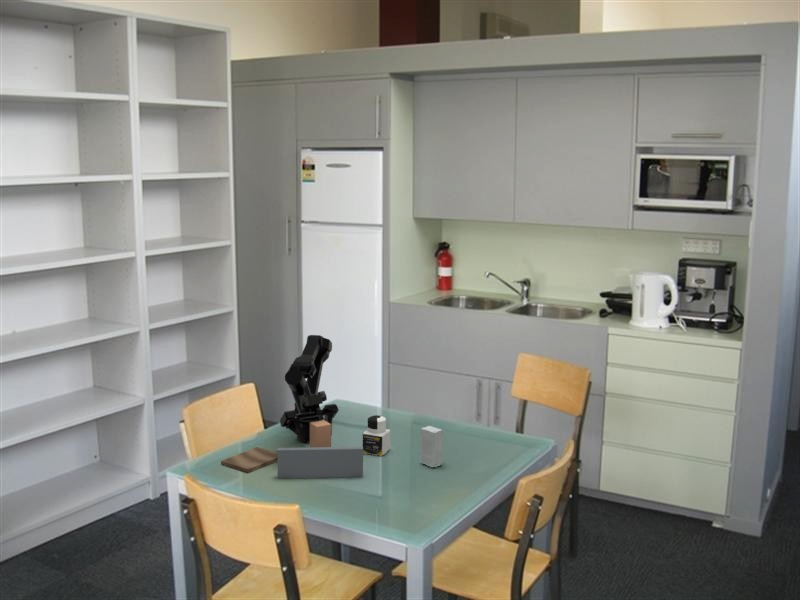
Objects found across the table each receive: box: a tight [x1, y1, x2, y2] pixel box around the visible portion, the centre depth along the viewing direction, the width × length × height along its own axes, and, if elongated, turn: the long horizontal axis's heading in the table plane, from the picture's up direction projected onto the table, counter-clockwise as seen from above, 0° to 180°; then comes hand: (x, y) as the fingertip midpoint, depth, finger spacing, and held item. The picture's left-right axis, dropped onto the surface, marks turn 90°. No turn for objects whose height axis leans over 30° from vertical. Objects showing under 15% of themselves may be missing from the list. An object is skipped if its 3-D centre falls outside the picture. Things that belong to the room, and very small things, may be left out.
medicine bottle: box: [362, 414, 391, 457], centre depth 281 cm, size 7×7×12 cm
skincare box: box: [419, 425, 444, 466], centre depth 270 cm, size 6×4×12 cm
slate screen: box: [276, 446, 364, 479], centre depth 261 cm, size 6×26×9 cm, turn 95°
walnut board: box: [220, 447, 277, 474], centre depth 271 cm, size 16×12×1 cm
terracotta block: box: [309, 419, 332, 447], centre depth 267 cm, size 5×5×14 cm
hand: (317, 438), depth 268 cm, fingers open, 9 cm apart
